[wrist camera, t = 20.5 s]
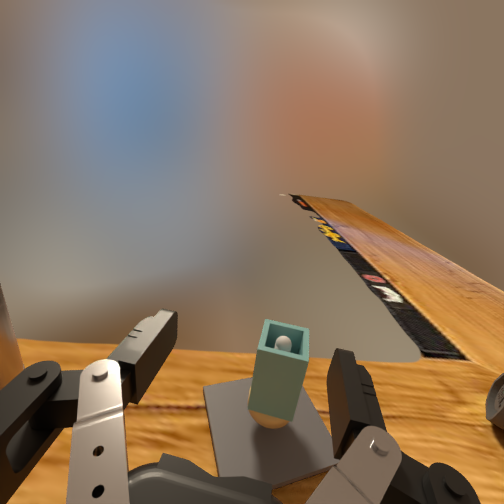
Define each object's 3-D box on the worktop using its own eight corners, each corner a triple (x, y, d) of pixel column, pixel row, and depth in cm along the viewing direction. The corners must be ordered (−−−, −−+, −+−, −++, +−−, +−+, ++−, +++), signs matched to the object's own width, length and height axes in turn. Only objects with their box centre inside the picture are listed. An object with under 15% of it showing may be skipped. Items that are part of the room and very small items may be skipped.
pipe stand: (223, 506, 30) (238, 407, 23) (203, 390, 42) (208, 307, 36) (343, 465, 35) (380, 376, 29) (292, 373, 48) (310, 298, 42)
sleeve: (247, 409, 34) (257, 348, 30) (256, 373, 39) (265, 318, 35) (292, 421, 33) (308, 361, 29) (294, 384, 38) (309, 328, 35)
